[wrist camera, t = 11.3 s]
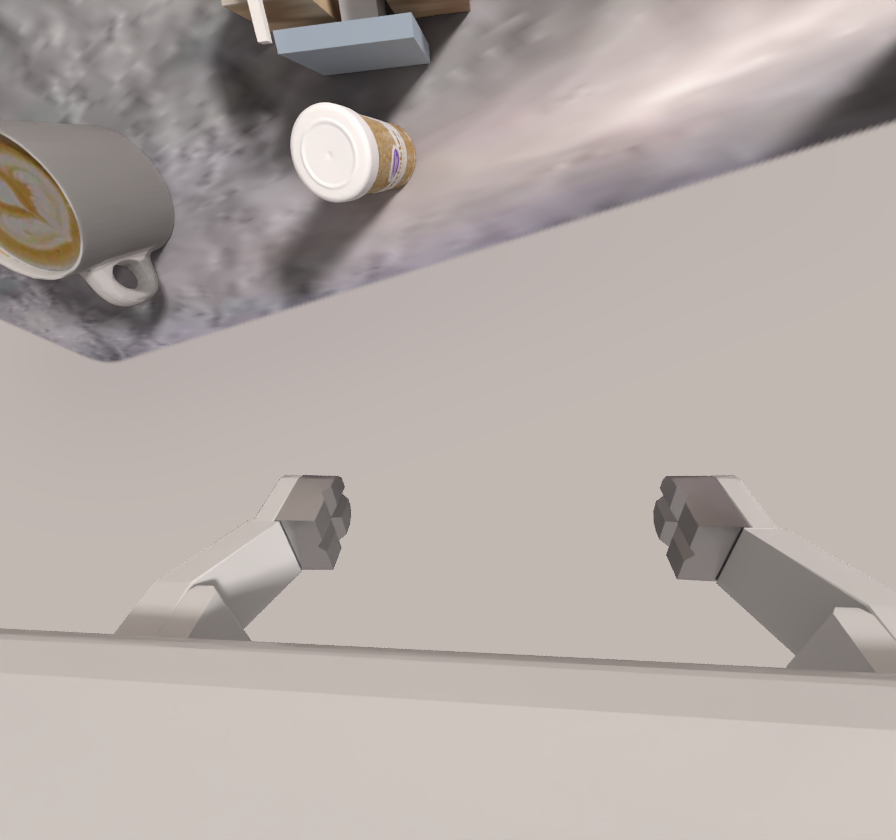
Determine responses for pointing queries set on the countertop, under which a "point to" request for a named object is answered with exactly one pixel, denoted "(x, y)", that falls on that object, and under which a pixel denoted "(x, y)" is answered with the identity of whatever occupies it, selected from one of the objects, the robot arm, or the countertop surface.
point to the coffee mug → (81, 207)
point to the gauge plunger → (349, 39)
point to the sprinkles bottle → (349, 153)
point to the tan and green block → (335, 10)
